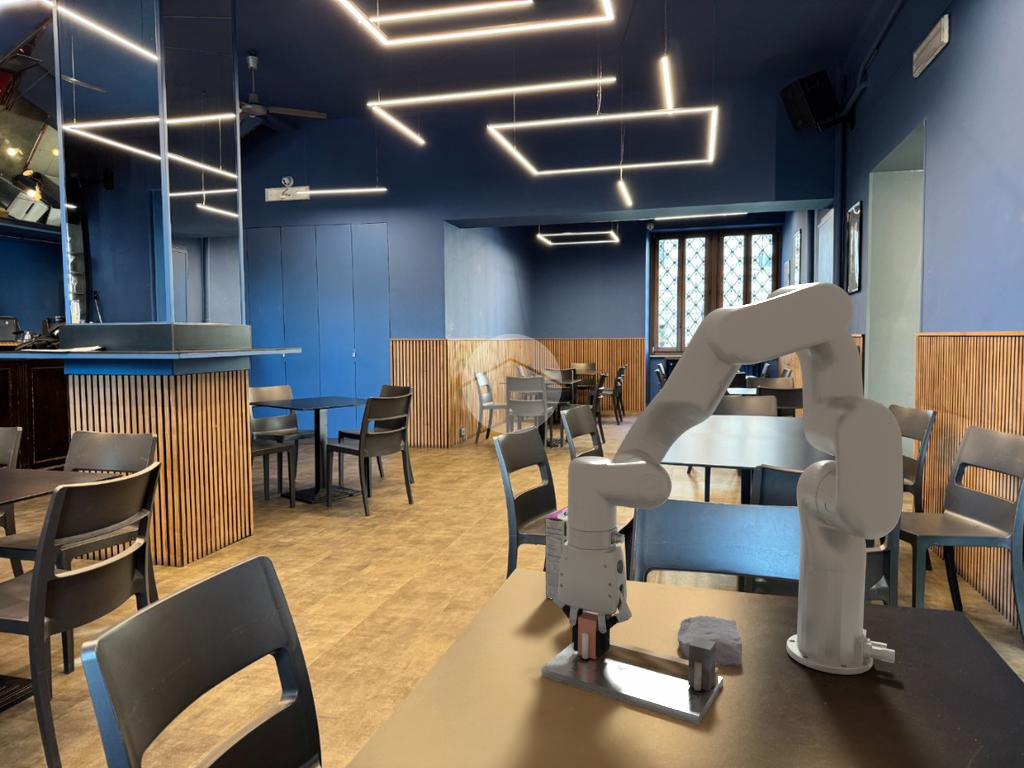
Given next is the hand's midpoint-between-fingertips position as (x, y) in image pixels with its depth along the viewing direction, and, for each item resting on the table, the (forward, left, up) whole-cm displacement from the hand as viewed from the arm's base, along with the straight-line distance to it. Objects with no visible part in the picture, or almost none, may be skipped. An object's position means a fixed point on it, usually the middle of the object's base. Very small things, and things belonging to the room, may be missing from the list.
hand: (590, 649), depth 108 cm
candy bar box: (+16, -24, -2) cm, 29 cm away
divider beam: (-8, 0, -1) cm, 8 cm away
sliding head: (0, 0, -1) cm, 1 cm away
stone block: (-14, -15, -3) cm, 21 cm away
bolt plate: (-8, +2, -2) cm, 8 cm away
